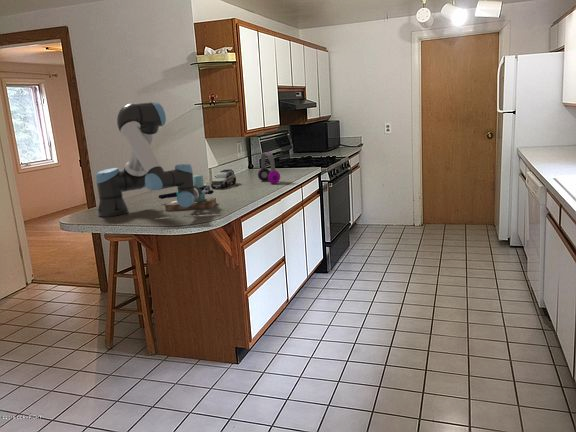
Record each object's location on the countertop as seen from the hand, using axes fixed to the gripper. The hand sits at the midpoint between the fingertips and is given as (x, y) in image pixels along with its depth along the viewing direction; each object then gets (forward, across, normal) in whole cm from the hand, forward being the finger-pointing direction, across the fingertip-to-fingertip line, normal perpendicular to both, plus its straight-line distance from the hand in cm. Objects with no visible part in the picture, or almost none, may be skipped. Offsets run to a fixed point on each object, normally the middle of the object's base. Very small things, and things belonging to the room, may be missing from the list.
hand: (201, 186), depth 264 cm
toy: (+23, -14, -11) cm, 29 cm away
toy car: (+66, +1, -11) cm, 67 cm away
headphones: (+70, +31, -11) cm, 77 cm away
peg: (-5, 0, -10) cm, 11 cm away
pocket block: (-5, -5, -11) cm, 13 cm away
